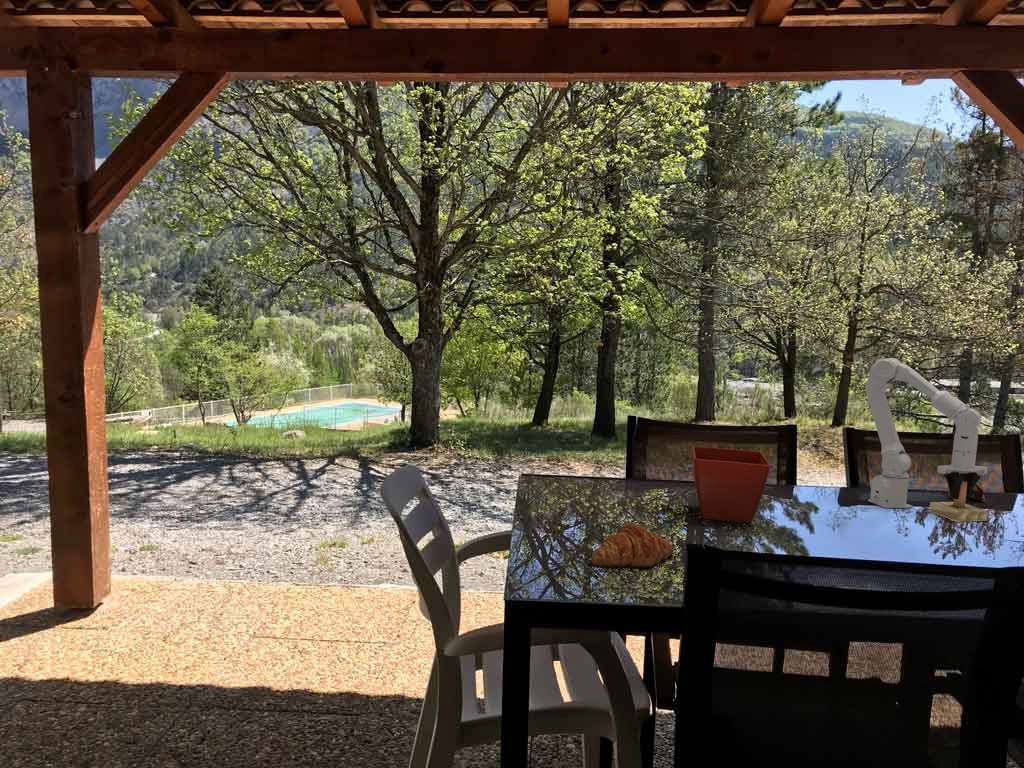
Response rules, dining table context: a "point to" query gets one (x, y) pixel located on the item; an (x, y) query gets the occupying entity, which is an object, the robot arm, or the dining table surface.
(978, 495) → the pottery mug
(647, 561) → the pastry
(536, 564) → the dining table surface
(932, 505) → the bore block
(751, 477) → the plant pot
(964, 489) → the pin
